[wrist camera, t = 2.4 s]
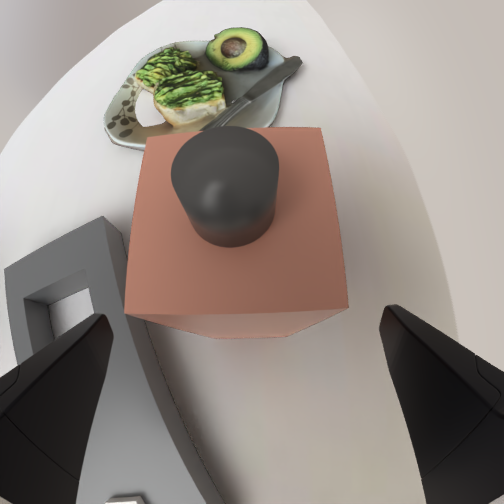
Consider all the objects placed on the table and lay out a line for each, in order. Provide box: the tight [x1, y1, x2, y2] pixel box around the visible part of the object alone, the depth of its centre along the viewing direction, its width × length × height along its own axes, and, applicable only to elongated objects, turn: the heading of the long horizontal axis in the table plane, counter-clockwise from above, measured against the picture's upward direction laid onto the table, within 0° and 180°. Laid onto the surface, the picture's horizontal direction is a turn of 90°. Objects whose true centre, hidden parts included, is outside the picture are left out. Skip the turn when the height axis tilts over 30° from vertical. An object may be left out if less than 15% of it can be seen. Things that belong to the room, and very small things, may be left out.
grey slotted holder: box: [4, 216, 225, 504], centre depth 15 cm, size 22×10×4 cm, turn 22°
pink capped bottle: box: [124, 126, 349, 339], centre depth 12 cm, size 4×4×14 cm
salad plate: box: [104, 27, 303, 151], centre depth 23 cm, size 19×18×5 cm
